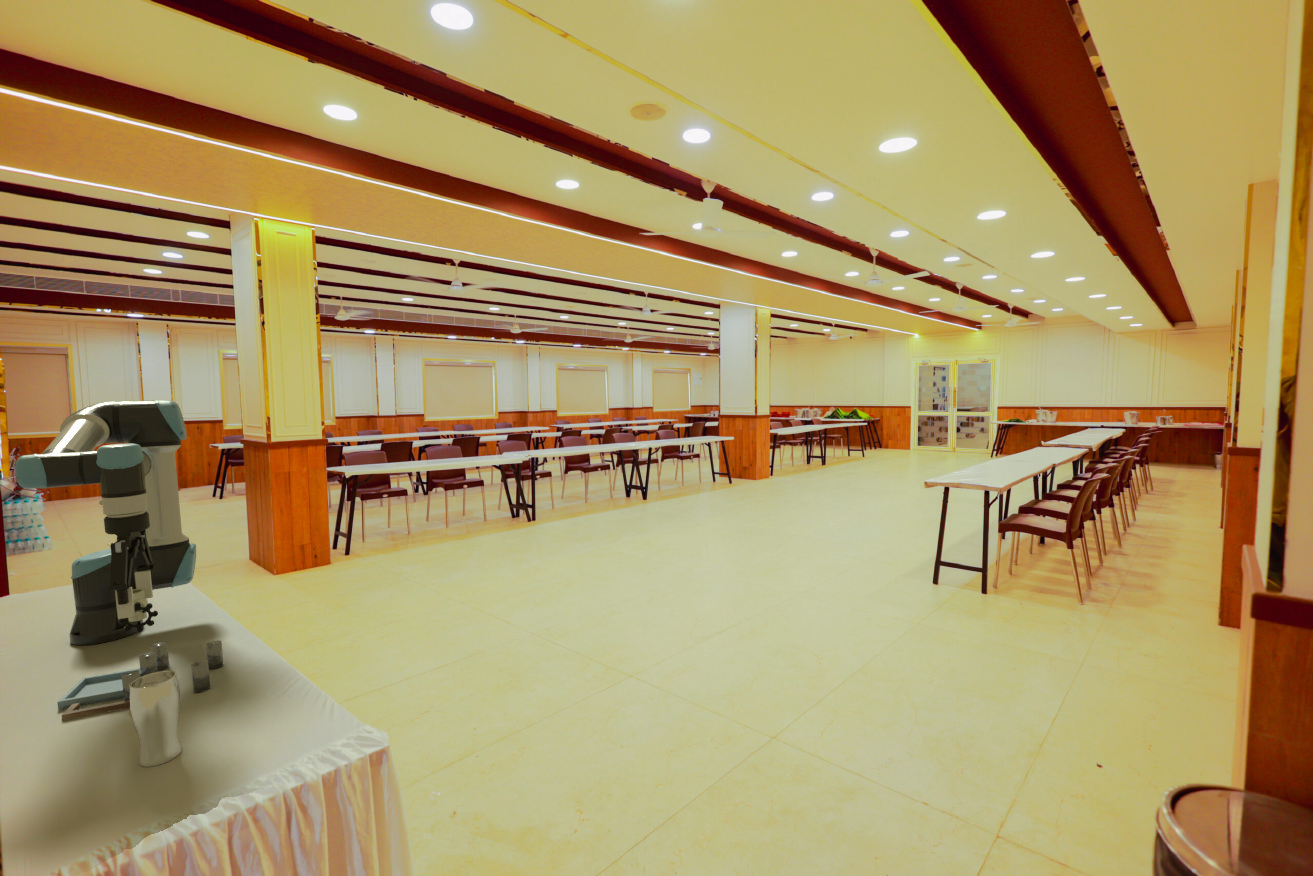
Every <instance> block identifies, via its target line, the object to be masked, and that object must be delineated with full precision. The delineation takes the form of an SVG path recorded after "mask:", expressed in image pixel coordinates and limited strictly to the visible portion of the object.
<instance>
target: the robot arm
mask: <svg viewBox="0 0 1313 876" xmlns="http://www.w3.org/2000/svg"><path fill="white" fill-rule="evenodd" d="M185 423H186V422H185V421H184V417H183V414H182V411H181V407H180V405H179V404H178V403H177V402H176V401H173V400H163V399H161V400H158V399H156V400H132V401H131V400H129V401H124V400H123V401H104V402H99V403H96V404H95V403H94V404H92V405H89V406H87V407H83V408H81V409H79V410H77V411H75V412H73V413H71V414H70V415H69V416H67V417H66V418H65V419H64V420H63V421H62V422H61V424H60V427H59V433H58V434H57V436H56V437H55V438H54V439H53V440H52V441H51V442H50V444H49V445H48V446H47V447H46V448H45V449H44V450H43V452H42V453H33V454H24V455H21V456H19V457H17V460H16V462H15V464H14V465H15V467H14V472H15V478H16V481H17V484H18V485H19V487H21V488H23V489H25V490H26V489H27V490H29V489H30V490H31V489H42V490H43V489H49V488H50V489H51V488H61V487H62V488H63V487H72V486H73V487H74V486H83V485H98V484H100V492H101V493H100V495H101V500H99V502H98V505H100V506H102V513H103V515H105V517H104V518H103V524H104V525H103V526H104V532H105V534H107V535H115V536H116V541H115V542H111V544H110V546H109V548H106V549H102V550H99V551H98V550H97V551H94V552H92V553H91V552H90V553H89V554H85V555H83V556H80V557H78V558H76V559H75V560H73V562H72V563H71V577H70V578H71V581H72V589H73V590H72V591H73V597H74V606H75V616H74V619H73V622H72V624H71V628H70V631H69V642H70V644H72V645H74V646H75V645H76V646H89V645H96V644H102V643H103V644H104V643H107V642H112V641H116V640H119V639H122V638H125V637H128V636H130V635H133V634H135V633H138V632H137V631H136V629H137V628H134V627H133V628H131V630H129V631H125V630H124V627H125V626H127V624H126V623H123V624H120V623H119V622H118V620H119V619H122V618H129V617H134V616H135V609H134V599H133V590H134V589H144V592H145V598H146V599H152V598H153V597H154V594H153V593H154V592H153V591H155V590H160V589H165V588H168V589H169V588H171V589H172V588H174V587H179V586H183V585H188V584H189V583H191V582H192V580H194V576H195V570H196V569H195V568H196V562H197V561H196V560H197V559H196V558H197V545H196V544H195V543H192V542H191V543H190V537H189V536H187V535H186V534H184V533H183V531H182V529H183V528H182V519H181V508H180V507H181V506H180V505H181V504H180V495H179V493H180V492H179V486H178V485H179V484H178V472H177V471H178V470H177V462H176V461H177V460H176V459H177V458H176V452H177V451H178V450H179V448H180V447H182V442H181V441H184V440H185V441H186V440H187V437H188V436H187V435H188V434H187V429H186V424H185ZM103 444H107V445H103ZM97 447H98V448H97ZM96 448H97V450H95V449H96ZM140 622H141V623H143V622H144V619H142V620H140ZM130 623H132V624H137V621H133V622H130Z"/></svg>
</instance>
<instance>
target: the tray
mask: <svg viewBox="0 0 1313 876" xmlns="http://www.w3.org/2000/svg"><path fill="white" fill-rule="evenodd" d="M131 671H140V667H139V668H132V669H127V670H121V671H115V672H109V673H104V674H97V675H96V674H95V675H90V676H84V677H82V678H81V679H79V680H78V682H77V683H75V684H74V685H73V687H71V688H70V689H69V690H68V691H67V692H66V693H65V694H64V695H63V696H62V697H61V698H60V699H59V700H58V701H57V710H58V711H61V710H65V709H66V710H67V709H68V708H69V707H70V706H71V705H72V704H76V703H80V707H81V706H82V707H83V706H86V705H93V704H98V703H104V702H110V701H115V700H121V699H124V694H123V685H122V675H123V674H125V673H128V672H131ZM140 677H141V671H140Z"/></svg>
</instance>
